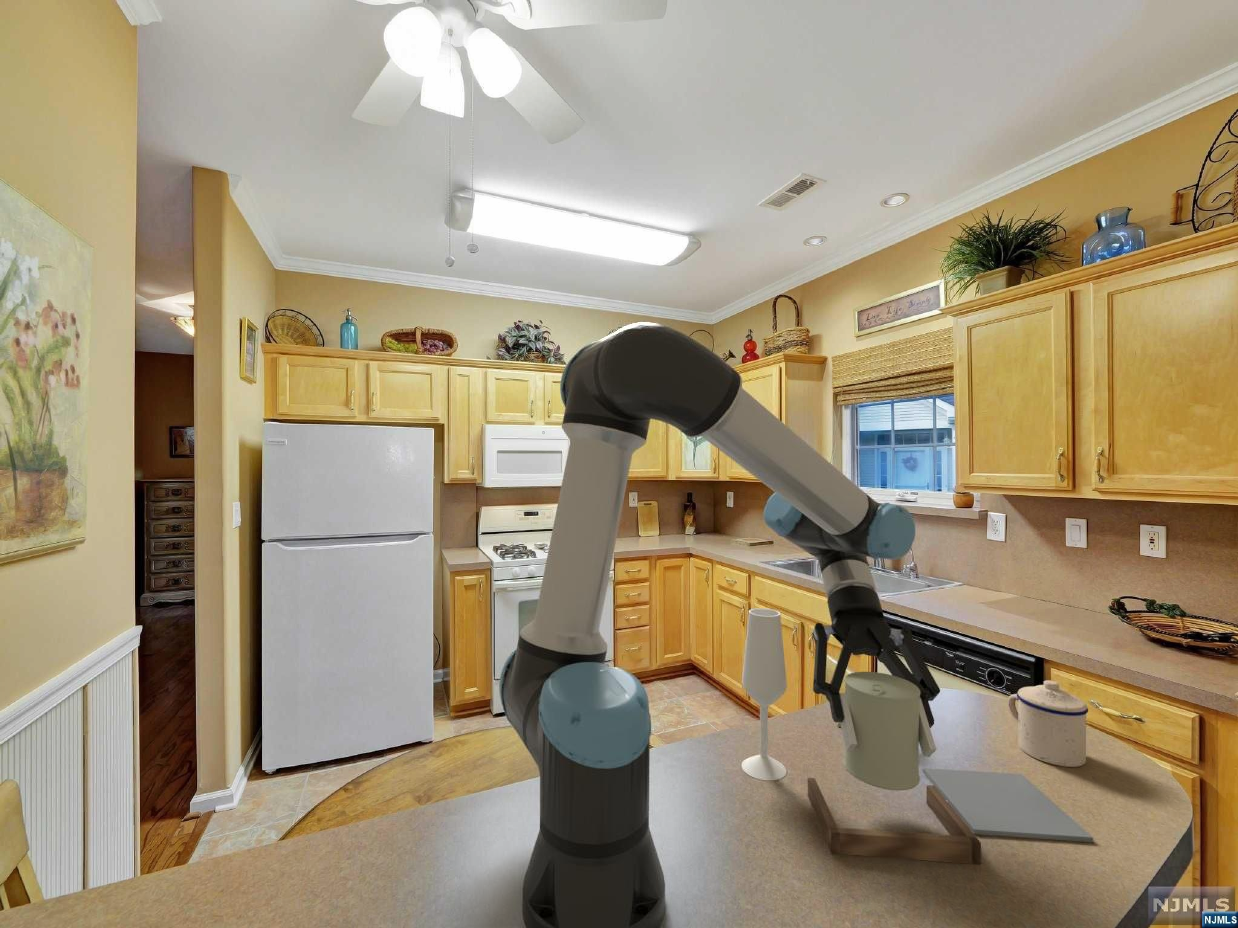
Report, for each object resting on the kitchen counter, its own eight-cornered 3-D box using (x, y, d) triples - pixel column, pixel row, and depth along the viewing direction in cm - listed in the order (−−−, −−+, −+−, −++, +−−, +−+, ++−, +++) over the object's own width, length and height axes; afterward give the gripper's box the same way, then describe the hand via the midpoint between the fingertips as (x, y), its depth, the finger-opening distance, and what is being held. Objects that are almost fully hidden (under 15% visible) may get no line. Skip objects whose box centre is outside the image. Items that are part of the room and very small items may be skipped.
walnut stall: (831, 852, 65) (831, 832, 65) (807, 795, 77) (807, 777, 77) (980, 864, 64) (981, 842, 64) (934, 803, 75) (934, 785, 75)
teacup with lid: (1103, 765, 85) (1103, 690, 85) (1056, 772, 83) (1056, 695, 83) (1030, 728, 97) (1030, 663, 97) (987, 734, 95) (988, 667, 95)
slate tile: (973, 833, 69) (973, 829, 69) (923, 771, 83) (923, 767, 83) (1093, 842, 68) (1093, 837, 68) (1021, 777, 81) (1021, 773, 81)
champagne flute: (774, 786, 79) (775, 621, 79) (733, 768, 83) (734, 612, 83) (793, 766, 84) (794, 611, 84) (753, 751, 88) (754, 604, 89)
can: (835, 774, 71) (837, 682, 72) (851, 745, 79) (852, 663, 79) (915, 799, 66) (916, 701, 66) (923, 766, 74) (924, 677, 74)
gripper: (916, 612, 87) (968, 766, 71) (777, 605, 89) (798, 754, 73) (932, 585, 82) (992, 746, 66) (785, 580, 84) (808, 733, 68)
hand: (890, 750), depth 69 cm, fingers closed on can, 9 cm apart
